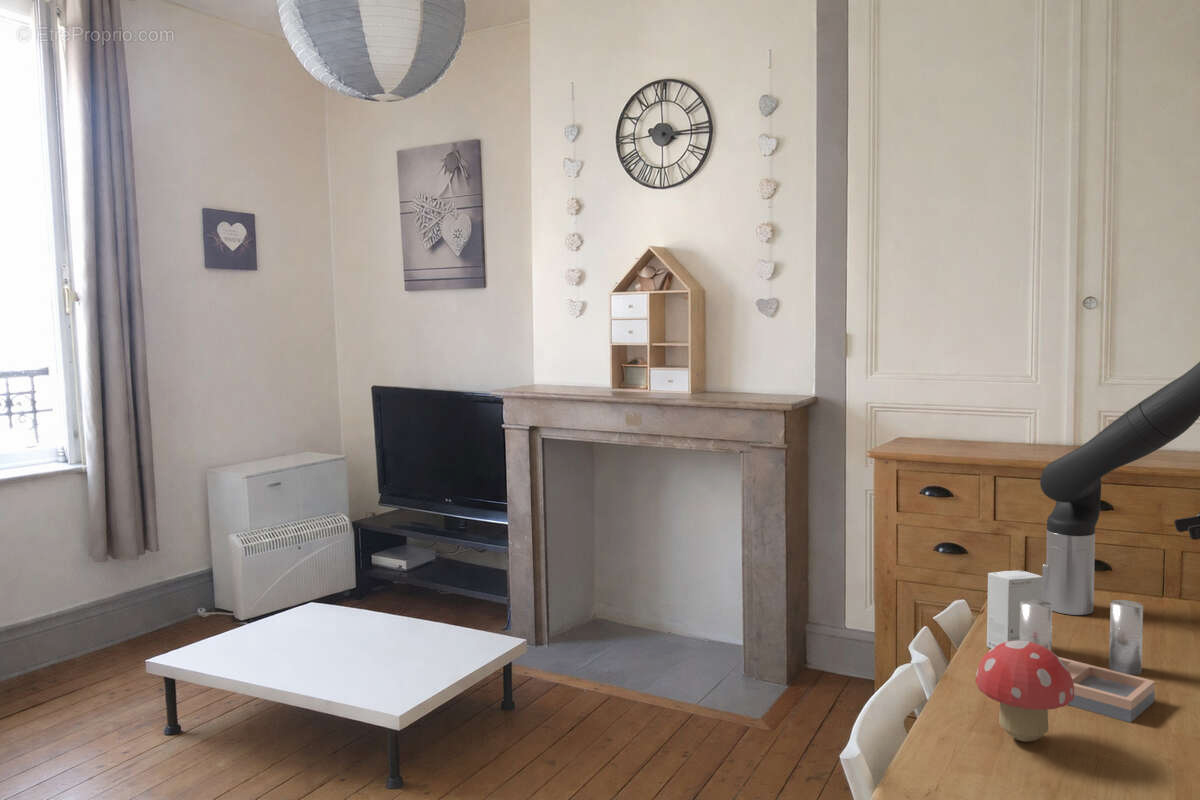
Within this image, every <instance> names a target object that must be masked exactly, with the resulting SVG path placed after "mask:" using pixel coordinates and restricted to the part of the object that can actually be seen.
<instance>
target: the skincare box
mask: <svg viewBox="0 0 1200 800" xmlns="http://www.w3.org/2000/svg"><path fill="white" fill-rule="evenodd" d="M1042 590H1043V577H1042V575H1039V574H1037V573H1032V572H1029V571H1025V570H1022V569H1021V570H1002V571H996V572H995V571H994V572H988V573H987V611H986V612H987V616H986V617H987V618H986V620H987V622H986V646H987V648H989V649H990V650H991V649H992V648H994V647H996V646H997V645H999V644H1002V643H1005V642H1009V641H1018V640H1019V641H1020V601H1022V600H1027V599H1033V600H1041V601H1042Z"/></svg>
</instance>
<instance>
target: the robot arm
mask: <svg viewBox="0 0 1200 800" xmlns="http://www.w3.org/2000/svg"><path fill="white" fill-rule="evenodd" d="M1199 418H1200V361H1198V363H1196V364H1195V365H1194V366H1193V367H1191V369H1189V370H1187V372H1185V373H1183V374H1182V375H1181V376H1179V377H1178V378H1176V379H1174V380H1173V381H1171V382H1169V383H1168V384H1166V385H1164V386H1163V387H1161V388H1160V389H1158V390H1156V392H1154V393H1152V394H1151V395H1149V396H1148V397H1146V398H1144V399H1143V400H1142V401H1140V402H1138V403H1137V404H1135V405H1134V406H1133V407H1131V408H1129V409H1128V410H1126V412H1124V413H1123V414H1122V415H1121V416H1119V417H1118V418H1116V419H1114V420H1113V422H1111V423H1110V424H1108V425H1107V426H1106V427H1105V428H1103V429H1102V430H1101V431H1100V432H1098V433H1096V435H1095V436H1093V437H1092V438H1091V439H1090V440H1088V441H1086V442H1085V443H1084V444H1082V445H1081V446H1079V447H1077V448H1076V449H1074V450H1072V451H1070V452H1068V453H1066V454H1065V455H1063V456H1061V457H1059V458H1056V459H1055V460H1054V461H1051V462H1049V463H1048V464H1046V466H1045V468H1043V470H1042V472H1041V474H1040V477H1039V478H1040V479H1039V485H1040V489H1041V491H1042V492H1043V494H1044V495H1045V496H1046V497H1047V498H1049V499H1051V500H1052V501H1055V502H1056V503H1055V505H1054V508H1053V509H1052V512H1051V513H1050V514H1049V515H1048V517H1047V519H1046V562H1045V563H1043V564H1042V573H1041V574H1042V575H1041V576H1042V577H1043V590H1042V601H1046V602H1048V603H1050V604H1052V612H1055V613H1060V614H1065V615H1072V616H1085V615H1087V616H1088V615H1090V614H1092V613H1093V612H1094V605H1095V559H1096V558H1095V556H1096V555H1095V554H1096V553H1095V552H1096V551H1095V550H1096V548H1095V547H1096V527H1097V526H1096V525H1097V523H1098V521H1099V519H1100V518H1099V517H1100V511H1101V498H1102V497H1101V496H1102V478H1103V477H1104V476H1106V475H1107V474H1109V473H1110V472H1112V471H1114V470H1116V469H1119V468H1120V467H1123V466H1126V465H1128V464H1131V463H1133V462H1135V461H1138V460H1139V459H1141V458H1144V457H1146V456H1148V455H1150V454H1152V453H1153V452H1156V451H1158V450H1159V449H1162V448H1163V447H1164V446H1166V445H1167V444H1169V443H1171V442H1173V441H1174V440H1175V439H1177V438H1179V437H1180V436H1182V435H1183V434H1184V433H1185V432H1186V431H1187V430H1189V429H1190V428H1191V427H1192V426H1193V425H1194V424H1195V423H1196V422H1197V420H1198V419H1199ZM1174 526H1175V527H1174V528H1175V530H1176V531H1177V532H1179V533H1183V532H1188V535H1189V538H1190V539H1191V540H1194V541H1195V540H1196V541H1197V540H1200V512H1198V514H1197V515H1196V516H1195V515H1194V516H1189V517H1188V516H1187V517H1182V518H1178V519H1177V518H1176V519H1174Z"/></svg>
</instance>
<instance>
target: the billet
mask: <svg viewBox="0 0 1200 800" xmlns="http://www.w3.org/2000/svg"><path fill="white" fill-rule="evenodd" d="M1109 603H1110V604H1109V605H1110V610H1109V615H1110V616H1109V620H1110V621H1109V652H1108V653H1109V655H1108V656H1109V659H1108V667H1109V668H1108V669H1109V670H1113V671H1117V672H1121V673H1125V674H1128V675H1132V676H1136V675H1137V676H1138V675H1140V674H1141V673H1142V671H1143V670H1142V669H1143V667H1142V664H1143V632H1144V631H1143V630H1144V629H1143V627H1144V626H1143V625H1144V623H1143V622H1144V621H1143V619H1144V605H1143V604H1142V603H1139V602H1138V601H1133V600H1126V599H1115V600H1112V601H1110V602H1109Z"/></svg>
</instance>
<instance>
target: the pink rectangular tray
mask: <svg viewBox="0 0 1200 800" xmlns="http://www.w3.org/2000/svg"><path fill="white" fill-rule="evenodd" d="M1057 657H1058V658H1059V659H1060V660H1061V661H1062V662H1063V664H1064V665H1065V666H1066V668H1067V669H1068V671H1069V673H1070V675H1071V677H1072V680H1073V684H1074V699H1073V700H1072V701H1071V702H1070V703H1068V704H1067V705H1068V706H1072V707H1075V708H1078V709H1082V710H1086V711H1089V712H1092V713H1095V714H1099V715H1103V716H1107V717H1110V718H1113V719H1117V720H1120V721H1123V722H1128V723H1130V724H1131V723H1132V722H1133V721H1134V720H1136V719H1137V718H1138V717H1139V716H1140V715H1141V714H1142V713H1144V712H1145V711H1146V710H1147V708H1149V707H1150V706H1152V704H1153V703H1154V702H1155V694H1156V693H1155V691H1156V690H1155V684H1156V681H1155V680H1152V679H1148V678H1144V677H1140V676H1136V675H1128V674H1125V673H1121V672H1117V671H1113V670H1111V669H1110V668H1104V667H1100V666H1096V665H1092V664H1089V663H1086V662H1085V663H1084V662H1081V661H1076V660H1073V659H1068V658H1064V657H1061V656H1060V657H1059V656H1057ZM1067 705H1066V706H1067Z"/></svg>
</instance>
